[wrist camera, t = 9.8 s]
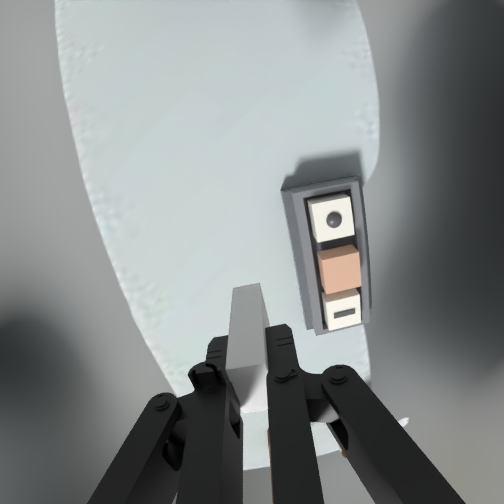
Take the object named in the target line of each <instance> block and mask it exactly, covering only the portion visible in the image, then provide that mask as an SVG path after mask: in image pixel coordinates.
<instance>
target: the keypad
mask: <svg viewBox="0 0 504 504" xmlns="http://www.w3.org/2000/svg"><path fill="white" fill-rule="evenodd" d="M280 191H281V195H282V200H283V205H284V210H285V215H286V220H287V225H288V230H289V236H290V241H291V246H292V251H293V257H294V262H295V268H296V273H297V279H298V285H299V290H300V296H301V302H302V308H303V314H304V320H305V325H306V328H307V330H309V329H313V328H314V331H315V334H316V336H317V335H322V334H326V333H330V332H334V331H338V330H342V329H346V328H350V327H354V326H358V325H362V324H365V323H369V322H370V314H372V300H371V277H370V261H369V247H368V235H367V225H366V217H365V216H366V215H365V207H364V198H363V191H362V183H361V178H360V177H357V176H352V177H347V178H341V179H335V180H330V181H324V182H319V183H314V184H309V185H304V186H299V187H294V188H289V189H284V190H280ZM339 193H344V194H346V195H347V196H349V197H350V201H351V209H352V217H353V225H354V234H355V235H351V236H346V237H342V238H337V239H332V240H328V241H323V242H317V241H316V239H315V238H314V236H313V232H312V226H311V220H310V214H309V209H308V203H307V200H308V199H313V198H318V197H323V196H328V195H334V194H339ZM351 244H352V245H353V246H354V247H355V248H356V249H357V250H358V252H359V258H360V271H361V285H362V286H360V287H356V290H357V291H358V293H359V294H360V310H361V323H358V324H355V325H351V326H347V327H343V328H339V329H335V330H331V331H329V329H328V326H327V324H326V321H325V316H324V308H323V300H322V292H325V290H324V288H323V286H322V283H321V276H320V269H319V262H318V256H317V252H319V251H323V250H328V249H333V248H337V247H342V246H346V245H351Z"/></svg>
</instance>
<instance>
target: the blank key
mask: <svg viewBox="0 0 504 504" xmlns="http://www.w3.org/2000/svg"><path fill="white" fill-rule="evenodd" d="M317 256H318V262H319V269H320V276H321V283H322V286H323V288H324V290H325V293H326V294H331V293H335V292H339V291H343V290H347V289H352V288H356V287H360V286H362V285H361V271H360V258H359V252H358V250H357V249H356V248H355V247H354V246H353V245H352V244H351V245H346V246H342V247H337V248H333V249H328V250H323V251H319V252H317Z"/></svg>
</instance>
